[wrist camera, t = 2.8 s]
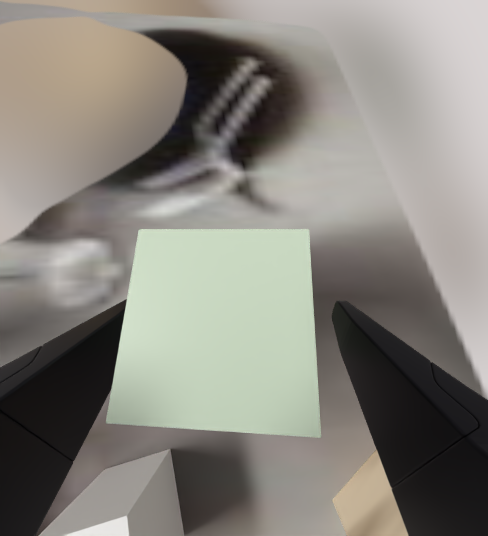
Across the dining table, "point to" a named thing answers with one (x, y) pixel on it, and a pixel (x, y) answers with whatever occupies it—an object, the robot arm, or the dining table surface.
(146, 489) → the white cube
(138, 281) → the sage block
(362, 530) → the oak cube
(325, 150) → the dining table surface
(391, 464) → the robot arm
